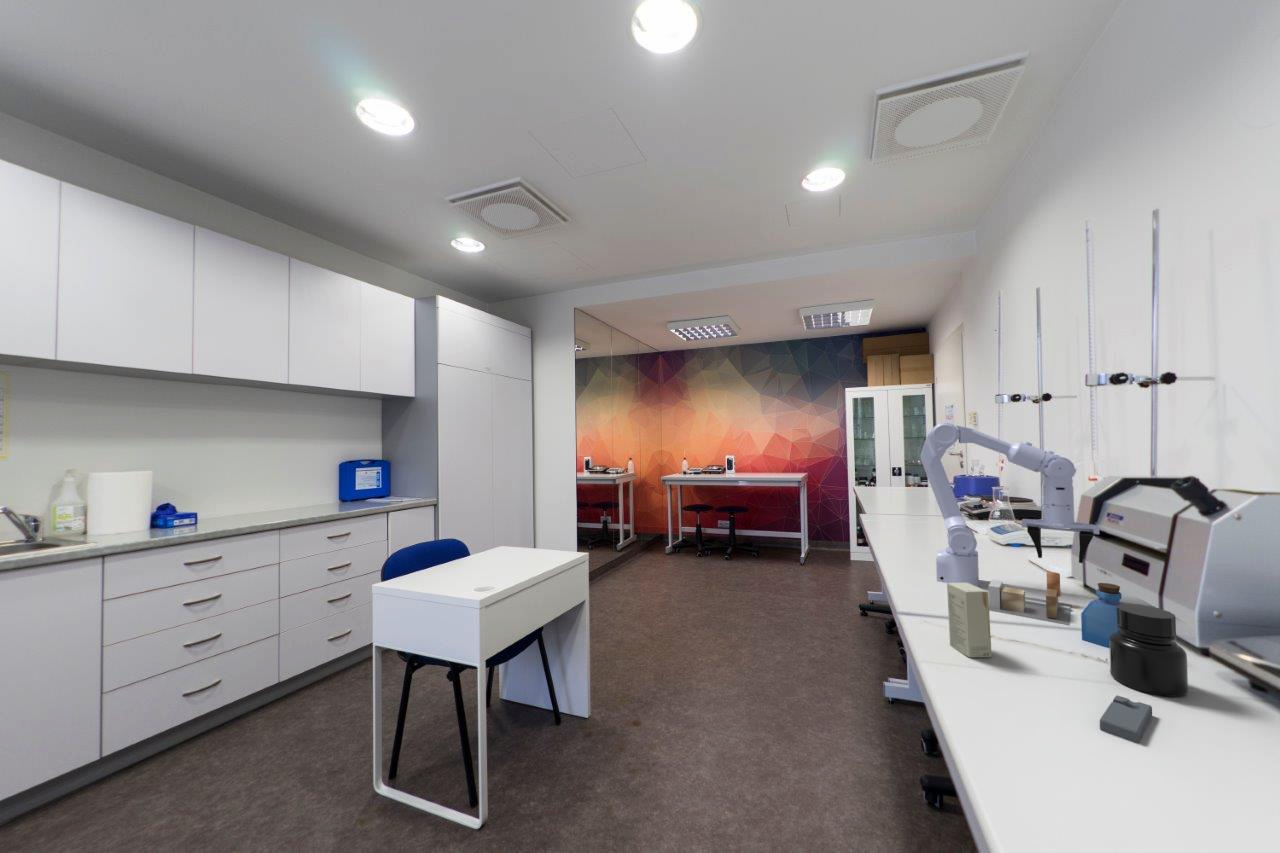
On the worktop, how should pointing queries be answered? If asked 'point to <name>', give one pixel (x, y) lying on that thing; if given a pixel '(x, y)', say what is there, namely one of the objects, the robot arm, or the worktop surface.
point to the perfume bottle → (1101, 615)
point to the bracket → (1126, 719)
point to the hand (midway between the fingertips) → (1060, 559)
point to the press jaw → (1052, 594)
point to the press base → (1028, 606)
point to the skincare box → (969, 619)
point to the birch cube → (1013, 599)
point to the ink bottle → (1148, 651)
